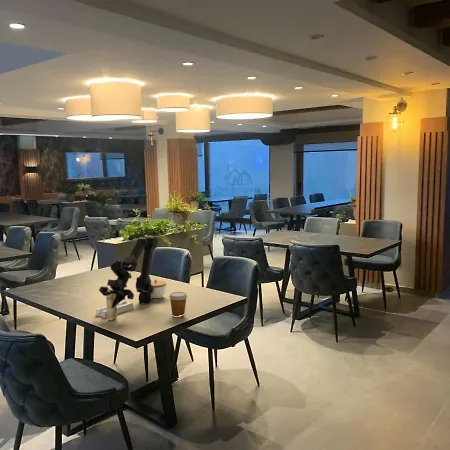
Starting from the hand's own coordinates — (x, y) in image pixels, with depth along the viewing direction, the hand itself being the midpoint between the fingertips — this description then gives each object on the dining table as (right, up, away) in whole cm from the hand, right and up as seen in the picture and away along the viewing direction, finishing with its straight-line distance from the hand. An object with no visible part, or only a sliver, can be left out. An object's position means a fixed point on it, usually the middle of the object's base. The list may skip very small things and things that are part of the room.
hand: (110, 306), depth 239 cm
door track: (-1, -5, +14) cm, 15 cm away
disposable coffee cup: (+34, -6, +9) cm, 36 cm away
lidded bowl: (+17, -2, +43) cm, 46 cm away
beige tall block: (+1, -6, +2) cm, 7 cm away
